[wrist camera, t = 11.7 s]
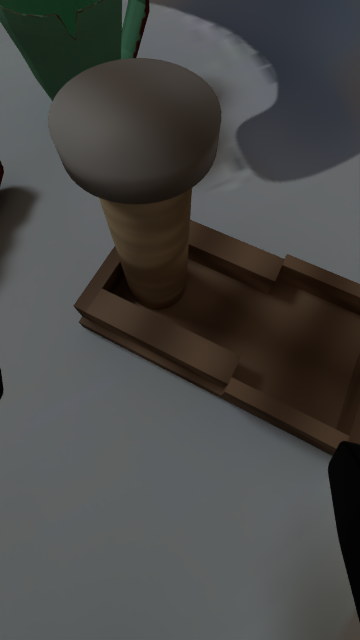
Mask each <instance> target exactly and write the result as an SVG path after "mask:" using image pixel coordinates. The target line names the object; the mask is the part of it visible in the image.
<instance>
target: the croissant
mask: <svg viewBox="0 0 360 640" xmlns="http://www.w3.org/2000/svg"><path fill="white" fill-rule="evenodd" d="M3 174H4V169H3V166H2V164H1V161H0V185H1V181H2V177H3Z"/></svg>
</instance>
